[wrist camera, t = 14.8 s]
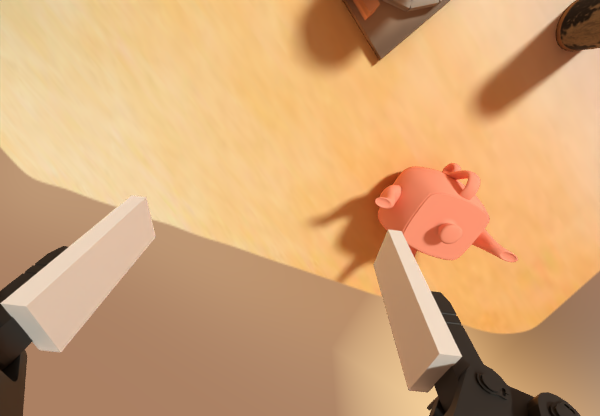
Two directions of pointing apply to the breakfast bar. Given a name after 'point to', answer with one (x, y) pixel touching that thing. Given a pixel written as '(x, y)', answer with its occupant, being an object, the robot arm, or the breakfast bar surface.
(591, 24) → the mug
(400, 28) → the board
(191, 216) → the breakfast bar surface
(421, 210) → the teapot
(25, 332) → the robot arm
